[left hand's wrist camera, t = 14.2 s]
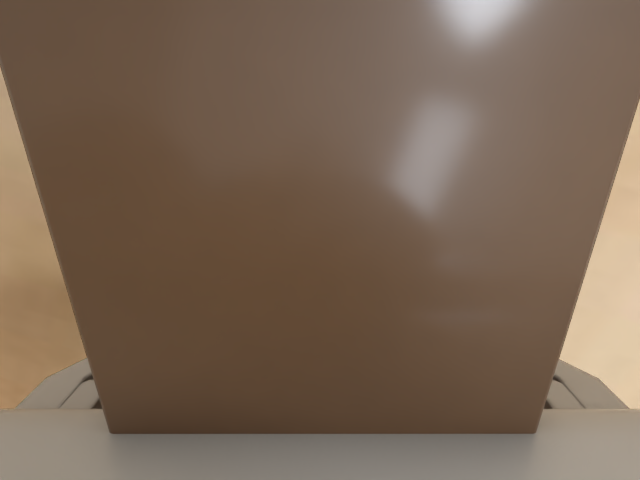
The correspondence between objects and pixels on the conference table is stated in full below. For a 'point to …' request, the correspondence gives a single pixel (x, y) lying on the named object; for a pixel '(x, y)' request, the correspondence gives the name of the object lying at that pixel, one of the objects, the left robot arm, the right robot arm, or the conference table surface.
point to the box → (323, 201)
